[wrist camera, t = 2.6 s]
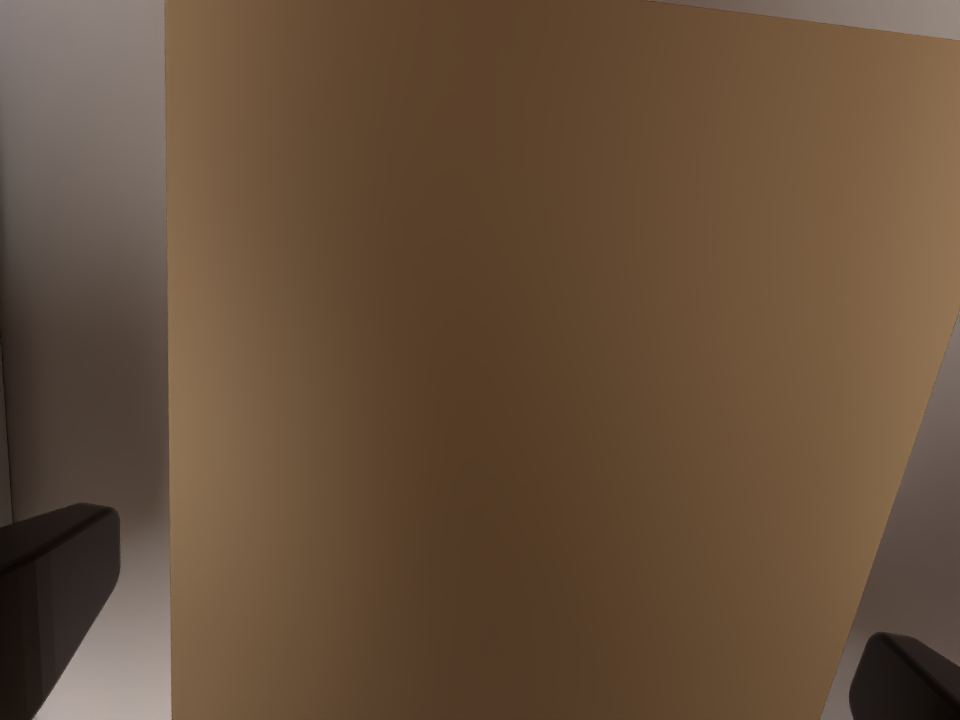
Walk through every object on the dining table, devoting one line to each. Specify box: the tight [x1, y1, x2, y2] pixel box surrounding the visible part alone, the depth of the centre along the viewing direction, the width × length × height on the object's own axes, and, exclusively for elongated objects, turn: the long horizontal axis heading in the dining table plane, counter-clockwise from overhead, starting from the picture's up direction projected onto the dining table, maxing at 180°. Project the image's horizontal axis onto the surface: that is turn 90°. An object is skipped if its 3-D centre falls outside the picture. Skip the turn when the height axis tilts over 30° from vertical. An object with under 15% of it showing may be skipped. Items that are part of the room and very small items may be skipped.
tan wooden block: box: [165, 0, 960, 720], centre depth 8 cm, size 5×12×4 cm, turn 173°
